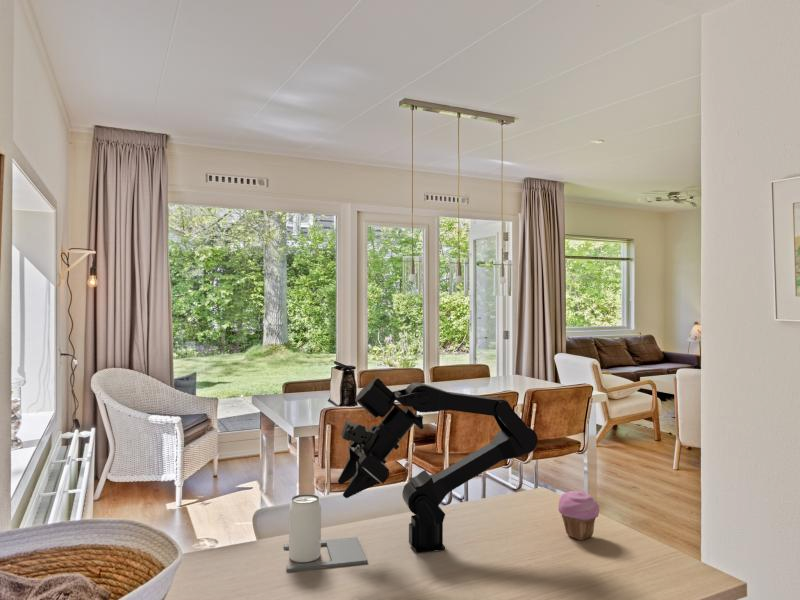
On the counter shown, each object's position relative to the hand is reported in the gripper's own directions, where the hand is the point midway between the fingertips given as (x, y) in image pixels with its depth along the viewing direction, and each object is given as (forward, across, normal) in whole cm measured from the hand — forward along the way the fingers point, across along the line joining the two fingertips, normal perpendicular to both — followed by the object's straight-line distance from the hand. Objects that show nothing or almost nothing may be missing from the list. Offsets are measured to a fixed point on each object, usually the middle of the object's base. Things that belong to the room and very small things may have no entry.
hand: (341, 489), depth 118 cm
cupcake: (-25, +2, +49) cm, 55 cm away
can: (+15, 0, +3) cm, 15 cm away
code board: (+12, 0, +6) cm, 14 cm away
